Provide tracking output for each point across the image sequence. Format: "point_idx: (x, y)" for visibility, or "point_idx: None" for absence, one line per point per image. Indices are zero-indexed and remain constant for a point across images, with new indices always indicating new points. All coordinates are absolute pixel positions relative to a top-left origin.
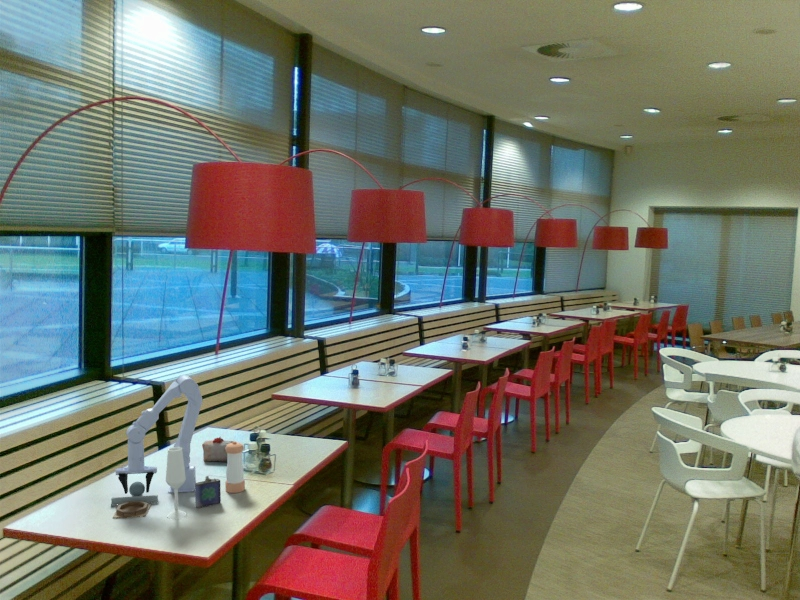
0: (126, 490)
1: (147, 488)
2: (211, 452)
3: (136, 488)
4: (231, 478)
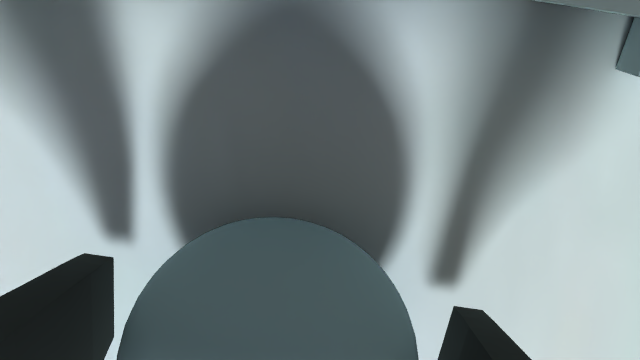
0: (473, 343)
1: (38, 285)
2: None
3: (263, 286)
4: None
